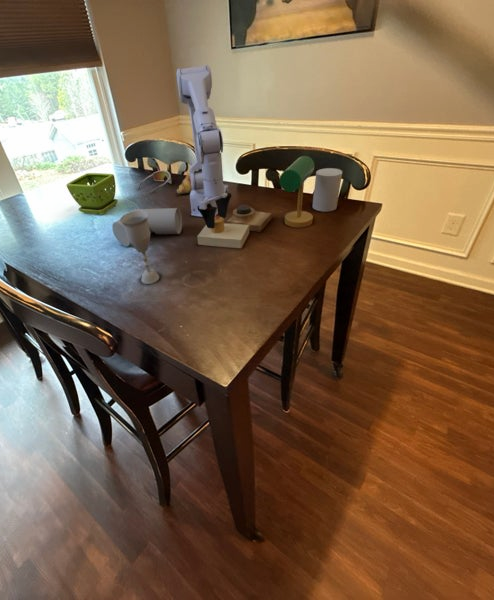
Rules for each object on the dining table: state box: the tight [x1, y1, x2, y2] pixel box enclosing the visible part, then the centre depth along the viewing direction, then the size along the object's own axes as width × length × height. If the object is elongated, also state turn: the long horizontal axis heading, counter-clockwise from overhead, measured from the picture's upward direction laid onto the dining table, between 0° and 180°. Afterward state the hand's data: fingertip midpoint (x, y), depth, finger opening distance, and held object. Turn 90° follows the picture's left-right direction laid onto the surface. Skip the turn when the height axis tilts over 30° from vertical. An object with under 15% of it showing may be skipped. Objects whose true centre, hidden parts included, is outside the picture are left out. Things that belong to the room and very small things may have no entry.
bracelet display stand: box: [278, 155, 315, 228], centre depth 98 cm, size 9×14×19 cm, turn 150°
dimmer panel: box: [196, 222, 250, 249], centre depth 99 cm, size 14×10×3 cm
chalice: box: [119, 211, 160, 285], centre depth 81 cm, size 7×7×18 cm
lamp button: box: [236, 204, 251, 215], centre depth 105 cm, size 4×4×2 cm
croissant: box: [176, 173, 192, 195], centre depth 138 cm, size 21×10×8 cm, turn 140°
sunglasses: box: [137, 170, 173, 193], centre depth 146 cm, size 14×15×5 cm
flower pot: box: [65, 172, 119, 215], centre depth 127 cm, size 14×14×13 cm
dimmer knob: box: [210, 215, 225, 233], centre depth 97 cm, size 4×4×4 cm
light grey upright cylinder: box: [311, 167, 343, 213], centre depth 107 cm, size 8×8×12 cm
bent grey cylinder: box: [111, 207, 183, 247], centre depth 104 cm, size 18×10×20 cm
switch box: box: [226, 207, 272, 232], centre depth 105 cm, size 12×10×4 cm
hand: (216, 222), depth 97 cm, fingers open, 7 cm apart
